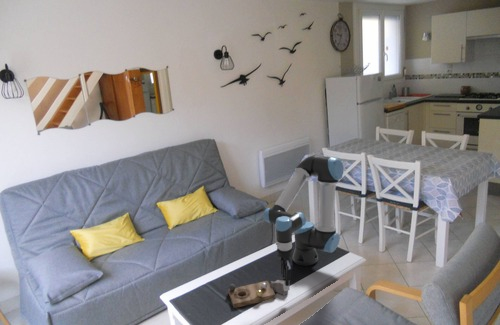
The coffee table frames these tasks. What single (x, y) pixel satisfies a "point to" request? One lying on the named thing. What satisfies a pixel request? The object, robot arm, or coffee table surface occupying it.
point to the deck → (250, 294)
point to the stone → (278, 287)
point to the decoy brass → (259, 293)
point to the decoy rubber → (232, 287)
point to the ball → (263, 286)
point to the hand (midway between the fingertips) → (286, 289)
